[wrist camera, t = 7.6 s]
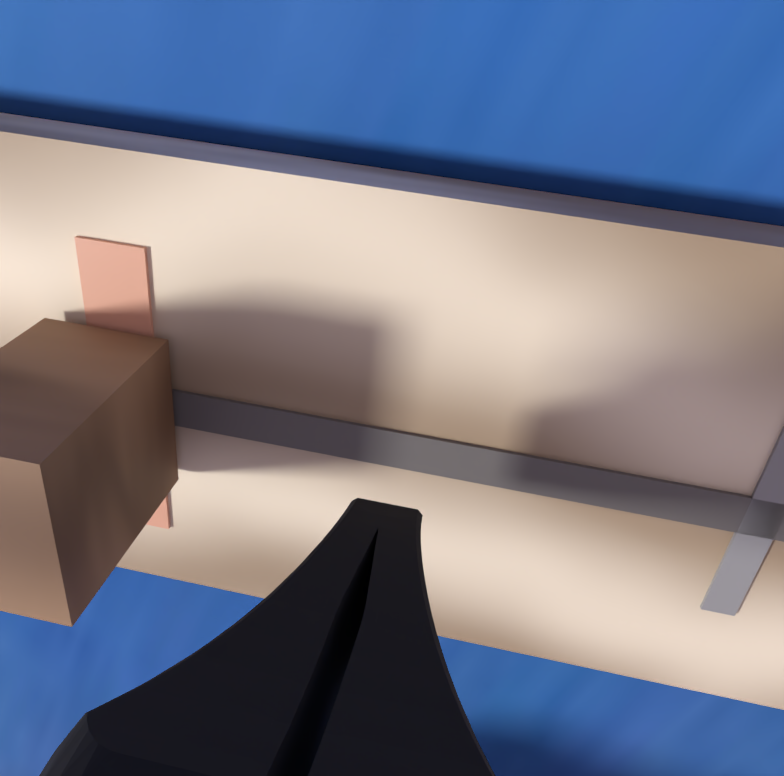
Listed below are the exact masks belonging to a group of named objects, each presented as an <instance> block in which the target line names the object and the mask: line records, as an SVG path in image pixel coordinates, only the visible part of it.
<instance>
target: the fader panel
mask: <svg viewBox="0 0 784 776" xmlns="http://www.w3.org/2000/svg"><path fill="white" fill-rule="evenodd" d="M44 318H49V319H54V320H60V321H66V322H71V323H77V324H83V325H88V326H94V327H100V328H105V329H111V330H116V331H122V332H128V333H133V334H139V335H145V336H150V337H156V338H162V339H167V340H168V342H169V356H170V369H171V383H172V396H173V410H174V423H175V437H176V450H177V464H178V477H179V480H178V481H177V482H176V484H175V485H174V486H173V488H172V489H171V491H170V492H169V493H168V495H167V496H166V497H165V499H164V500H163V502H162V503H161V504H160V506H159V507H158V509H157V510H156V511H155V513H154V514H153V515H152V517H151V518H150V520H149V521H148V522H147V524H146V525H145V527H144V528H143V529H142V531H141V532H140V533H139V535H138V536H137V538H136V539H135V540H134V542H133V543H132V545H131V546H130V547H129V549H128V550H127V551H126V553H125V554H124V556H123V557H122V558H121V560H120V561H119V563H118V564H117V565H116V567H121V568H126V569H130V570H135V571H140V572H144V573H149V574H154V575H158V576H163V577H168V578H172V579H177V580H182V581H186V582H191V583H196V584H200V585H205V586H210V587H214V588H219V589H224V590H228V591H233V592H238V593H242V594H247V595H251V596H256V597H261V598H266V597H267V596H268V595H269V594H270V593H271V592H273V591H274V590H275V589H276V588H277V587H278V586H279V585H280V584H281V583H282V582H283V581H284V580H285V579H286V578H287V577H288V576H289V575H290V574H291V573H292V572H293V571H294V570H295V569H296V568H297V567H298V566H299V565H300V564H301V563H302V562H303V561H304V560H305V559H306V557H307V556H308V555H309V554H310V553H311V552H312V551H313V550H314V549H315V547H316V546H317V545H318V544H319V543H320V542H321V541H322V540H323V538H324V537H325V536H326V535H327V534H328V532H329V531H330V530H331V529H332V528H333V526H334V525H335V524H336V522H337V521H338V520H339V518H340V517H341V516H342V514H343V513H344V512H345V510H346V509H347V507H348V506H349V504H350V503H351V501H353V500H354V499H356V498H362V499H367V500H372V501H377V502H382V503H387V504H393V505H398V506H403V507H408V508H413V509H418V510H419V511H420V513H421V514H422V515H423V517H422V523H421V551H422V562H423V570H424V576H425V582H426V588H427V594H428V599H429V604H430V608H431V613H432V617H433V621H434V625H435V629H436V632H437V635H438V636H442V637H447V638H452V639H456V640H461V641H466V642H470V643H475V644H480V645H484V646H489V647H494V648H498V649H503V650H508V651H512V652H517V653H522V654H526V655H531V656H536V657H540V658H545V659H550V660H554V661H559V662H564V663H568V664H573V665H577V666H582V667H587V668H591V669H596V670H601V671H605V672H610V673H615V674H619V675H624V676H629V677H633V678H638V679H643V680H647V681H652V682H657V683H661V684H666V685H671V686H675V687H680V688H685V689H689V690H694V691H699V692H703V693H708V694H713V695H717V696H722V697H727V698H731V699H736V700H740V701H745V702H750V703H754V704H759V705H764V706H768V707H773V708H778V709H782V710H784V226H777V225H770V224H763V223H756V222H749V221H743V220H736V219H729V218H722V217H715V216H708V215H701V214H694V213H688V212H681V211H674V210H667V209H660V208H653V207H646V206H639V205H633V204H626V203H619V202H612V201H605V200H598V199H591V198H584V197H578V196H571V195H564V194H557V193H550V192H543V191H536V190H529V189H523V188H516V187H509V186H502V185H495V184H488V183H481V182H474V181H468V180H461V179H454V178H447V177H440V176H433V175H426V174H420V173H413V172H406V171H399V170H392V169H385V168H378V167H371V166H365V165H358V164H351V163H344V162H337V161H330V160H323V159H316V158H310V157H303V156H296V155H289V154H282V153H275V152H268V151H261V150H255V149H248V148H241V147H234V146H227V145H220V144H213V143H206V142H200V141H193V140H186V139H179V138H172V137H165V136H158V135H151V134H145V133H138V132H131V131H124V130H117V129H110V128H103V127H96V126H90V125H83V124H76V123H69V122H62V121H55V120H48V119H41V118H35V117H28V116H21V115H14V114H7V113H0V348H1V347H3V346H4V345H6V344H7V343H9V342H10V341H11V340H13V339H14V338H16V337H17V336H19V335H20V334H22V333H23V332H25V331H26V330H28V329H29V328H30V327H32V326H33V325H35V324H36V323H38V322H39V321H41V320H42V319H44Z"/></svg>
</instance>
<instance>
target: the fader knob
mask: <svg viewBox="0 0 784 776" xmlns="http://www.w3.org/2000/svg"><path fill="white" fill-rule="evenodd" d="M178 480H179V477H178V464H177V450H176V437H175V423H174V410H173V396H172V383H171V369H170V356H169V342H168V340H167V339H162V338H156V337H150V336H145V335H139V334H133V333H128V332H122V331H116V330H111V329H105V328H100V327H94V326H88V325H83V324H77V323H71V322H66V321H60V320H54V319H49V318H44V319H42V320H41V321H39V322H38V323H36V324H35V325H33V326H32V327H30V328H29V329H28V330H26V331H25V332H23V333H22V334H20V335H19V336H17V337H16V338H14V339H13V340H11V341H10V342H9V343H7V344H6V345H4V346H3V347H1V348H0V611H4V612H9V613H13V614H18V615H22V616H26V617H31V618H35V619H40V620H44V621H49V622H53V623H57V624H62V625H66V626H71V627H72V626H73V625H74V623H75V622H76V621H77V619H78V618H79V616H80V615H81V614H82V612H83V611H84V610H85V608H86V607H87V605H88V604H89V603H90V601H91V600H92V598H93V597H94V596H95V594H96V593H97V592H98V590H99V589H100V587H101V586H102V585H103V583H104V582H105V580H106V579H107V578H108V576H109V575H110V574H111V572H112V571H113V569H114V568H115V567H116V565H117V564H118V563H119V561H120V560H121V558H122V557H123V556H124V554H125V553H126V551H127V550H128V549H129V547H130V546H131V545H132V543H133V542H134V540H135V539H136V538H137V536H138V535H139V533H140V532H141V531H142V529H143V528H144V527H145V525H146V524H147V522H148V521H149V520H150V518H151V517H152V515H153V514H154V513H155V511H156V510H157V509H158V507H159V506H160V504H161V503H162V502H163V500H164V499H165V497H166V496H167V495H168V493H169V492H170V491H171V489H172V488H173V486H174V485H175V484H176V482H177V481H178Z"/></svg>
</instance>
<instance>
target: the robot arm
mask: <svg viewBox="0 0 784 776" xmlns="http://www.w3.org/2000/svg"><path fill="white" fill-rule="evenodd" d="M422 517H423V515H422V514H421V513H420V511H419V510H418V509H413V508H408V507H403V506H398V505H393V504H387V503H382V502H377V501H372V500H367V499H362V498H356V499H354V500H353V501H351V503H350V504H349V506H348V507H347V509H346V510H345V512H344V513H343V514H342V516H341V517H340V518H339V520H338V521H337V522H336V524H335V525H334V526H333V528H332V529H331V530H330V531H329V532H328V534H327V535H326V536H325V537H324V538H323V540H322V541H321V542H320V543H319V544H318V545H317V546H316V547H315V549H314V550H313V551H312V552H311V553H310V554H309V555H308V556H307V557H306V559H305V560H304V561H303V562H302V563H301V564H300V565H299V566H298V567H297V568H296V569H295V570H294V571H293V572H292V573H291V574H290V575H289V576H288V577H287V578H286V579H285V580H284V581H283V582H282V583H281V584H280V585H279V586H278V587H277V588H276V589H275V590H274V591H273V592H271V593H270V594H269V595H268V596H267V597H266V598H265V599H264V600H263V601H261V602H260V603H259V604H258V605H257V606H256V607H254V608H253V609H252V610H251V611H250V612H248V613H247V614H246V615H245V616H244V617H242V618H241V619H240V620H239V621H237V622H236V623H235V624H234V625H232V626H231V627H230V628H228V629H227V630H225V631H224V632H223V633H221V634H220V635H219V636H217V637H216V638H215V639H213V640H212V641H211V642H209V643H208V644H206V645H205V646H203V647H202V648H201V649H199V650H198V651H196V652H195V653H193V654H192V655H190V656H188V657H187V658H185V659H184V660H182V661H180V662H179V663H177V664H175V665H174V666H172V667H170V668H169V669H167V670H166V671H164V672H162V673H161V674H159V675H157V676H156V677H154V678H152V679H151V680H149V681H147V682H145V683H144V684H142V685H140V686H138V687H136V688H134V689H132V690H131V691H129V692H127V693H125V694H123V695H121V696H119V697H117V698H115V699H113V700H111V701H109V702H107V703H105V704H103V705H101V706H99V707H97V708H95V709H93V710H91V711H89V712H87V713H85V714H84V716H83V717H82V718H81V719H80V720H79V722H78V723H77V724H76V725H75V727H74V728H73V729H72V730H71V731H70V733H69V734H68V735H67V737H66V738H65V739H64V740H63V742H62V743H61V744H60V745H59V747H58V748H57V749H56V751H55V752H54V753H53V755H52V756H51V758H50V760H49V761H48V763H47V764H46V766H45V767H44V769H43V771H42V772H41V774H40V775H39V776H495V774H494V772H493V771H492V769H491V767H490V765H489V763H488V761H487V759H486V757H485V755H484V753H483V751H482V749H481V747H480V745H479V743H478V741H477V739H476V737H475V734H474V732H473V730H472V728H471V725H470V723H469V721H468V718H467V716H466V714H465V712H464V709H463V707H462V705H461V702H460V700H459V698H458V695H457V693H456V690H455V687H454V685H453V682H452V679H451V677H450V674H449V671H448V668H447V665H446V662H445V659H444V656H443V653H442V650H441V646H440V643H439V640H438V636H437V632H436V629H435V625H434V621H433V617H432V613H431V608H430V604H429V599H428V594H427V588H426V582H425V576H424V570H423V562H422V551H421V523H422Z"/></svg>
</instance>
